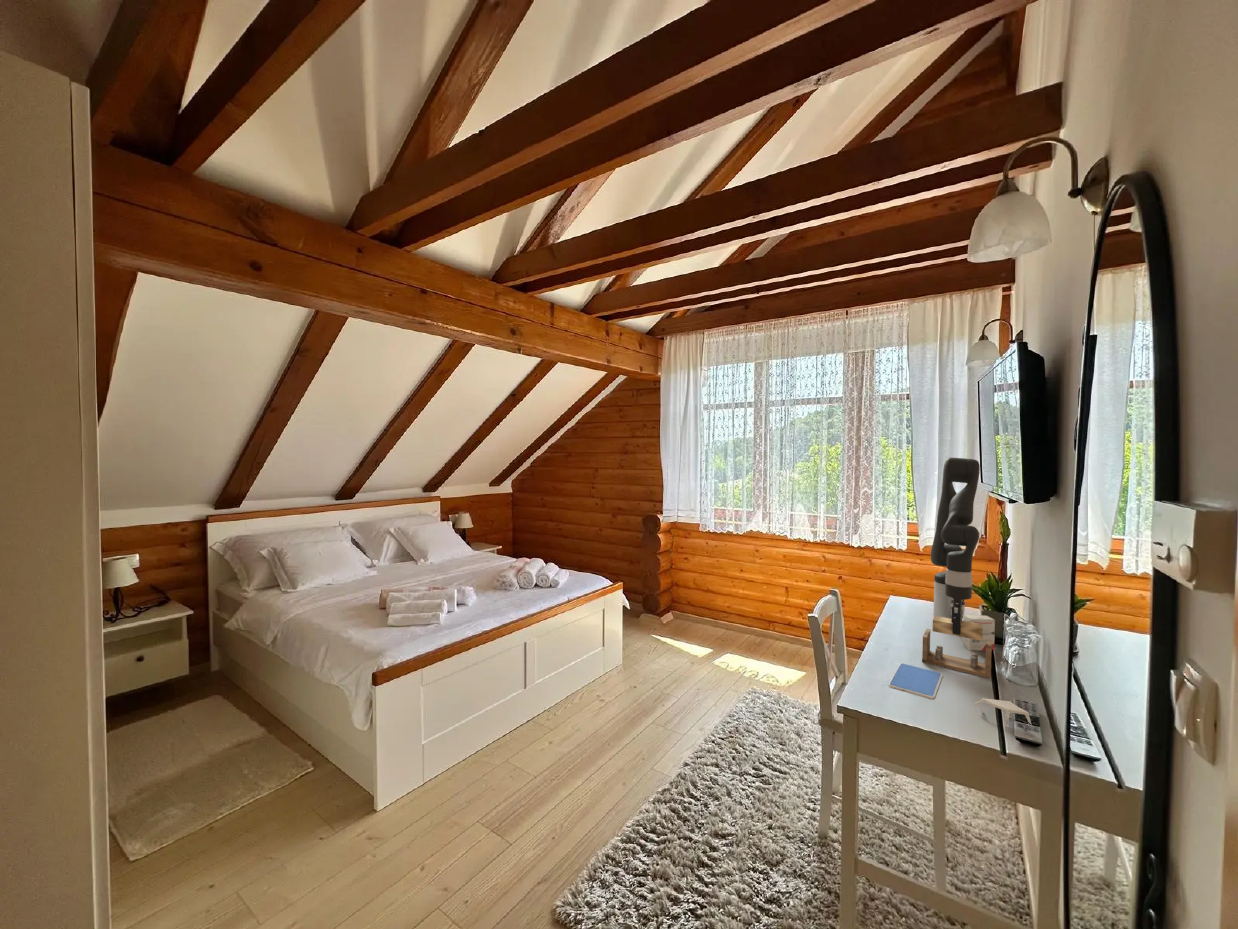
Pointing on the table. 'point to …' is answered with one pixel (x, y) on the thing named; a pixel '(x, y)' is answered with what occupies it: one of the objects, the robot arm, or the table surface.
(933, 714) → the table surface
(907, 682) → the blue flat rectangular panel
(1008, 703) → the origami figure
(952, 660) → the peg stand
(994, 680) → the table surface
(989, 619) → the ink box
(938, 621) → the golden rectangular block
